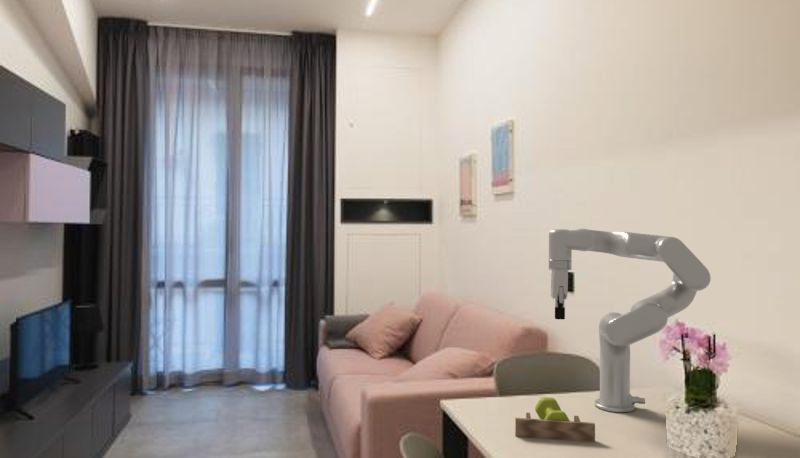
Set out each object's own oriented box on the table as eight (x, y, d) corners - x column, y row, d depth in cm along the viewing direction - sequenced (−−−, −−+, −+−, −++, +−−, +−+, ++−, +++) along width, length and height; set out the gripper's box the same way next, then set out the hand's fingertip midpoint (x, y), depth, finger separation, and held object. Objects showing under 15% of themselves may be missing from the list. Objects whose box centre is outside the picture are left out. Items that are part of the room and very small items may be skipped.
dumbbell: (572, 438, 165) (572, 413, 165) (544, 437, 166) (544, 412, 165) (559, 419, 181) (559, 396, 181) (534, 418, 182) (534, 396, 182)
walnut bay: (589, 428, 173) (589, 411, 173) (594, 441, 162) (595, 424, 162) (515, 423, 177) (515, 406, 177) (515, 436, 166) (515, 418, 166)
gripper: (547, 263, 205) (547, 315, 205) (550, 266, 190) (549, 322, 190) (569, 264, 203) (568, 315, 203) (573, 267, 189) (573, 322, 189)
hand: (559, 318), depth 197 cm, fingers closed
